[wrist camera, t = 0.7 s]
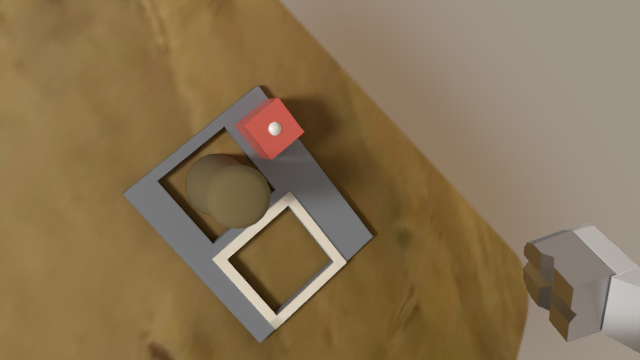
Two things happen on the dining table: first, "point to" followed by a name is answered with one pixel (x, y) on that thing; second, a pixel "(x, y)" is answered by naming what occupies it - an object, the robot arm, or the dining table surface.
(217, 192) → the cork
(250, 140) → the red cube
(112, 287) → the dining table surface
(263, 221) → the grey and white frame
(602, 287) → the robot arm
